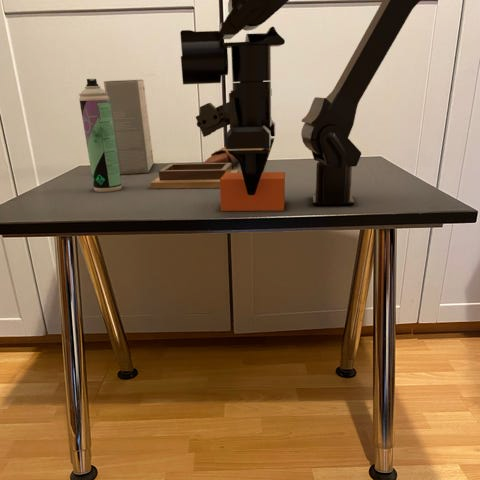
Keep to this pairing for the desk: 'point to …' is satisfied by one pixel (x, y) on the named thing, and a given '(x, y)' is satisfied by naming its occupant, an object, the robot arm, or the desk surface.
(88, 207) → the desk surface
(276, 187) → the orange rectangular block
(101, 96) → the spray can
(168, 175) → the wooden tray
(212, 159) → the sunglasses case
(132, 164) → the hard drive box
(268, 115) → the robot arm
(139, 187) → the desk surface
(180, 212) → the desk surface
